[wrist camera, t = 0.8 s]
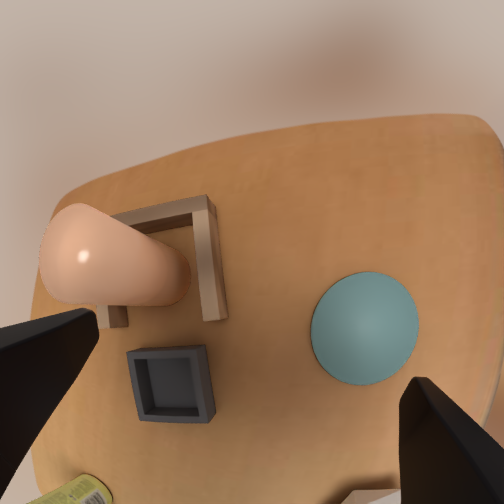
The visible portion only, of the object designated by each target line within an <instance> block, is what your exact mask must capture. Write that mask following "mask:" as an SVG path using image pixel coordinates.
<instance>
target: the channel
mask: <svg viewBox="0 0 504 504" xmlns="http://www.w3.org/2000/svg"><path fill="white" fill-rule="evenodd" d="M110 217H112V218H114V219H116V220H118V221H120V222H122V223H123V224H125V225H127V226H129V227H131V228H133V229H135V230H137V231H139V232H141V233H143V234H147V233H152V232H157V231H162V230H167V229H172V228H178V227H183V226H188V225H193V230H194V241H195V252H196V262H197V272H198V281H199V290H200V299H201V307H202V315H203V321H211V320H220V319H224V318H228V311H227V303H226V295H225V287H224V279H223V270H222V262H221V253H220V244H219V235H218V226H217V216H216V207H215V206H214V204H213V203H212V202H211V200H210V199H209V198H208V196H207V195H201V196H196V197H191V198H186V199H181V200H176V201H172V202H167V203H163V204H158V205H154V206H149V207H145V208H141V209H136V210H132V211H128V212H124V213H120V214H116V215H112V216H110ZM96 308H97V319H98V328H99V329H103V328H117V327H126V326H128V320H127V311H126V305H96Z"/></svg>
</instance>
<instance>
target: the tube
mask: <svg viewBox="0 0 504 504" xmlns="http://www.w3.org/2000/svg"><path fill="white" fill-rule="evenodd" d="M111 503H112V496H111V494H110V492H109V491H108V489H107V488H106V487H105V486H104V485H103V484H102V483H101V482H100V481H99V480H98V479H96V478H95V477H93V476H91V475H88V474H82V475H80V476H78V477H77V478H75V479H73V480H72V481H70V482H68V483H66V484H65V485H63V486H61V487H59V488H57V489H55V490H54V491H52V492H50V493H48V494H46V495H44V496H42V497H40V498H38V499H36V500H34V501H31V502H29V503H27V504H111Z"/></svg>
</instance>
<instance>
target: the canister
mask: <svg viewBox="0 0 504 504" xmlns="http://www.w3.org/2000/svg"><path fill="white" fill-rule="evenodd" d="M39 267H40V274H41V277H42V281H43V283H44V286H45V287H46V289H47V291H48V292H49V293H50V295H51V296H52V297H53V298H55V299H56V300H58V301H60V302H62V303H68V304H90V305H126V306H168V305H172V304H174V303H176V302H178V301H179V300H180V299H181V298H182V297H183V296H184V295H185V293H186V292H187V290H188V288H189V285H190V279H191V272H190V267H189V264H188V262H187V260H186V258H185V257H184V256H183V255H182V254H181V253H180V252H179V251H177V250H175V249H173V248H171V247H169V246H167V245H165V244H163V243H161V242H159V241H157V240H155V239H153V238H151V237H149V236H147V235H145V234H143V233H141V232H139V231H137V230H135V229H133V228H131V227H129V226H127V225H125V224H123V223H122V222H120V221H118V220H116V219H114V218H112V217H110V216H108V215H106V214H104V213H102V212H100V211H98V210H97V209H95V208H93V207H91V206H89V205H86V204H72V205H70V206H67V207H66V208H64V209H62V210H61V211H60V212H59V213H58V214H57V215H56V216H55V217H54V218H53V219H52V221H51V222H50V223H49V225H48V227H47V229H46V231H45V233H44V236H43V239H42V242H41V246H40V254H39Z"/></svg>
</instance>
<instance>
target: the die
mask: <svg viewBox="0 0 504 504" xmlns="http://www.w3.org/2000/svg"><path fill="white" fill-rule="evenodd" d="M341 504H401V489H384V490H353V491H352V492H351V493H350V495H349V496H348V497H347V498H346V499H345V500H344V501H343V502H342V503H341Z"/></svg>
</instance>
